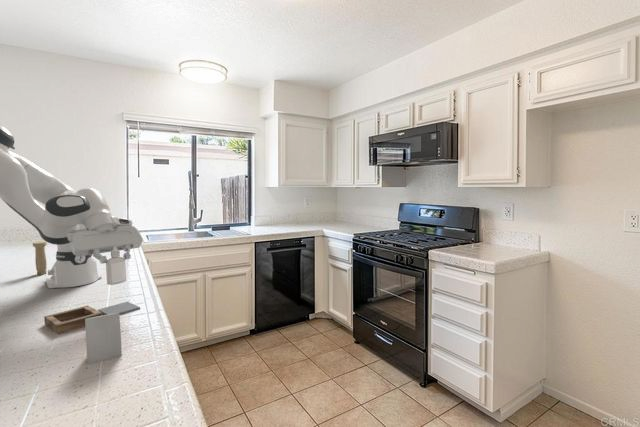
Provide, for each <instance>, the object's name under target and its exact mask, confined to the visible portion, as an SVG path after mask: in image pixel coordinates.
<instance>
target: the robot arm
mask: <svg viewBox="0 0 640 427" xmlns="http://www.w3.org/2000/svg"><path fill="white" fill-rule="evenodd" d="M14 145H15V137H14V135H12V133H11V132H10V131H9V129H7V128H6V127H4V126H3V125H1V124H0V199H1V201H3V202H4V203H5V204H6V205H7V206H8V207H9V208H10V209H12V211H14V212H15V213H17V214H18V215H19V216H20V217H21V218H22V219H24V220H25V221H26V222H28V223H29V224H30V225H31V226H32V227H34V228H35V229H36V230H37V232H38V234H39V236H40V238H41V239H42V241H46V243H48V244H52V245H56V246H57V251H55V252H56V254H55V263H54V264H53V265H52V267H51V268H50V269H48V270H47V275H48V276H51V277H48V278H46V279H45V283H46V285H47V288H48V289H55V288H56V289H57V288H74V287H79V286H85V285H89V284H93V283H95V282H96V281H98V280H100V279H102V278H103V277H102V275H101V274H99V272H98V265H97V260H99V262H100V264H106V263H107V260H108V258H107V255H102V254H105V253H111V251H112V250H113V247H114V246H116V248H117V250H119V251H124V253H123V255H122V257H123V258H124V259H125V261H126V260H130V259H131V257H132V256H131V253H130V251H131V250H132V249H139V248H140V247H141V245H143V241H144V239H143V236H142V235H141V233H140V231H139V230H138V229H137V227H136V226H135V225H134V226H133V220H132V219H128V218H121V217H118V216H114V215H113V214H112V213H111V209H110V206H109V204H108V202H107V201H106V198H105V197H104V196H103V194H102V193H101V192H99V191H98V190H96V189H95V188H89V187H88V188H87V187H86V188H81V189H79V190H75V189H74V188H72V187H71V186H69V185H67V183H64V182H63V181H62V180H60V179H59V178H57V177H55V176H54V175H52V174H51V173H49V172H48V171H46V170H45V169H43V168H41V167H39V166H38V165H36V164H35V163H34V162H31V161H30V160H29V159H27V158H25V157H23V156H21V155H20V154H17V153H15V152H14V151H11V150H9V149H12V150H15V149H16V147H15V146H14ZM40 203H41V204H43V205H44V207H43V206H42V205H41V204H40ZM94 258H95V259H97V260H95V259H94Z"/></svg>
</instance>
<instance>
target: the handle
mask: <svg viewBox="0 0 640 427" xmlns="http://www.w3.org/2000/svg"><path fill="white" fill-rule="evenodd" d="M47 243H48V242H46V241H45V240H41V241H34V242H32V247H34V249H35V257H34V258H35V261H34V263H35V268H36V274H37V276H39V275H40V276H41V275H45V274H47V256H46V255H47V254H46V246H47V245H48V244H47Z"/></svg>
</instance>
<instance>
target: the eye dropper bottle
mask: <svg viewBox="0 0 640 427" xmlns="http://www.w3.org/2000/svg"><path fill="white" fill-rule="evenodd" d="M120 251H121V250H120ZM120 251H119V250H117V248H116V246H114V247H113V250H112V251H111V252H110V257H111V258H109V259H107V263H105V271H106V284H107V285H110V286H115V285H119V284H123V283H125V282H126V281H127V266H126V260H125V259H124V257H123V256H121V255H120Z"/></svg>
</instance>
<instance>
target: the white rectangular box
mask: <svg viewBox="0 0 640 427" xmlns="http://www.w3.org/2000/svg"><path fill="white" fill-rule="evenodd" d="M84 327H85V344H86V345H85V346H86V360H87V363H86V364H87V365H89V364H93V363H97V362H100V361H105V360H110V359H113V358H116V357H120V356H123V351H122V333H121V330H122V329H121V319H120V315H119V313H113V314H108V315H104V314H102V316H97V317H92V318H87V319H85V326H84Z"/></svg>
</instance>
